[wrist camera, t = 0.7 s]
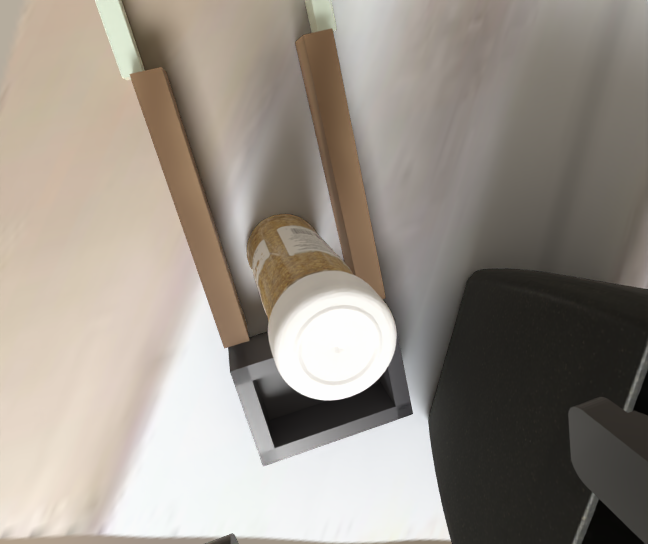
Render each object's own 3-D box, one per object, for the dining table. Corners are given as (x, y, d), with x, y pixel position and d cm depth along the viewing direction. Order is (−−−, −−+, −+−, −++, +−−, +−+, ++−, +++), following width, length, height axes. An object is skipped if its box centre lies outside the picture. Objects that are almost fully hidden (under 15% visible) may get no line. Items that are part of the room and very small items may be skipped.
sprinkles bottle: (230, 251, 28) (245, 357, 16) (283, 196, 28) (341, 259, 16) (284, 298, 30) (337, 427, 17) (335, 246, 30) (425, 340, 17)
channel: (321, 36, 26) (332, 28, 23) (372, 284, 31) (385, 298, 29) (137, 78, 24) (129, 74, 22) (223, 330, 30) (224, 348, 27)
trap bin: (375, 298, 31) (394, 319, 28) (393, 385, 34) (413, 413, 31) (228, 344, 30) (230, 371, 27) (257, 431, 32) (263, 466, 29)
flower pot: (438, 211, 31) (676, 309, 15) (663, 249, 36) (1017, 352, 20) (375, 458, 36) (503, 726, 20) (579, 461, 41) (810, 676, 25)
